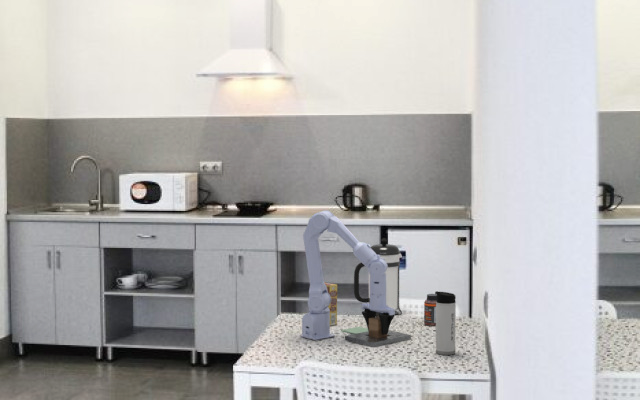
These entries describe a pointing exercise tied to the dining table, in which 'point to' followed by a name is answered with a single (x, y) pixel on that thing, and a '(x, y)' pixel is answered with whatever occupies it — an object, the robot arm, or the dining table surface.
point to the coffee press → (392, 273)
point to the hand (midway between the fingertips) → (377, 332)
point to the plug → (375, 328)
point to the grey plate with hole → (373, 342)
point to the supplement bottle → (430, 310)
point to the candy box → (332, 302)
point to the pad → (355, 330)
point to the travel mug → (445, 323)
